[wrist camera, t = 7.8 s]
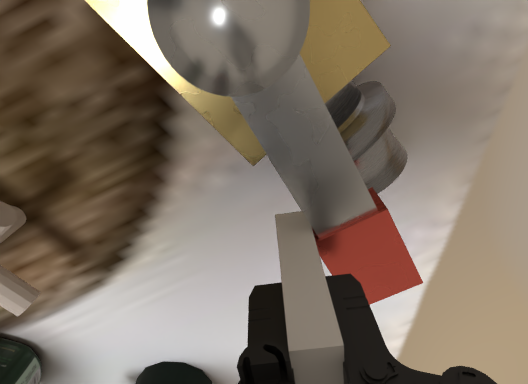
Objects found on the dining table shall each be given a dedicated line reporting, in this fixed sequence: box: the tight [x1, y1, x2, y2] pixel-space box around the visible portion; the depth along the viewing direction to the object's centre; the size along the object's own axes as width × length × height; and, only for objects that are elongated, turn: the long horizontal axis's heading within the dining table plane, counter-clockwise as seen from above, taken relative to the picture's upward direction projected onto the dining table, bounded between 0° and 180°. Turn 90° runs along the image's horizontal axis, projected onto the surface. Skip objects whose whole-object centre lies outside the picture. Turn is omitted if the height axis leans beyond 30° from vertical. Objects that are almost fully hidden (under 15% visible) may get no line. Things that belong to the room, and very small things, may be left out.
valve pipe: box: [85, 0, 407, 193], centre depth 15 cm, size 22×7×9 cm, turn 43°
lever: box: [147, 0, 423, 305], centre depth 12 cm, size 14×4×2 cm, turn 31°
